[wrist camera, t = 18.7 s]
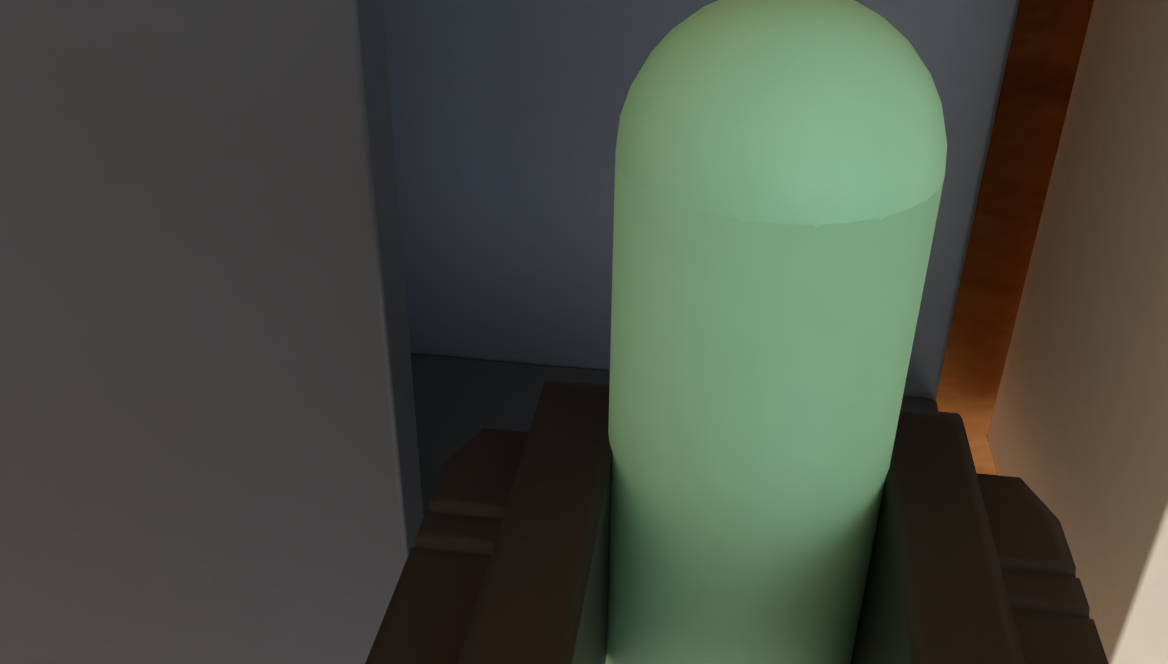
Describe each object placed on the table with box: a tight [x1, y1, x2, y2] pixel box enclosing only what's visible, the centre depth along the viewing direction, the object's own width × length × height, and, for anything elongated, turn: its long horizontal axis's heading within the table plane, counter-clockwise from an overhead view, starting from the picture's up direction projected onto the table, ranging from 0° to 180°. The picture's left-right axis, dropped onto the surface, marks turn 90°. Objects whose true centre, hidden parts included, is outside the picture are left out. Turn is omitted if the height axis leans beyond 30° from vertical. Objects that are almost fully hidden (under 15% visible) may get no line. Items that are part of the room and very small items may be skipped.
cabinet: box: [0, 0, 424, 664], centre depth 17 cm, size 15×14×9 cm
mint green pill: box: [605, 0, 947, 664], centre depth 9 cm, size 9×2×2 cm, turn 179°
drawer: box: [382, 0, 1168, 664], centre depth 15 cm, size 19×12×7 cm, turn 89°
